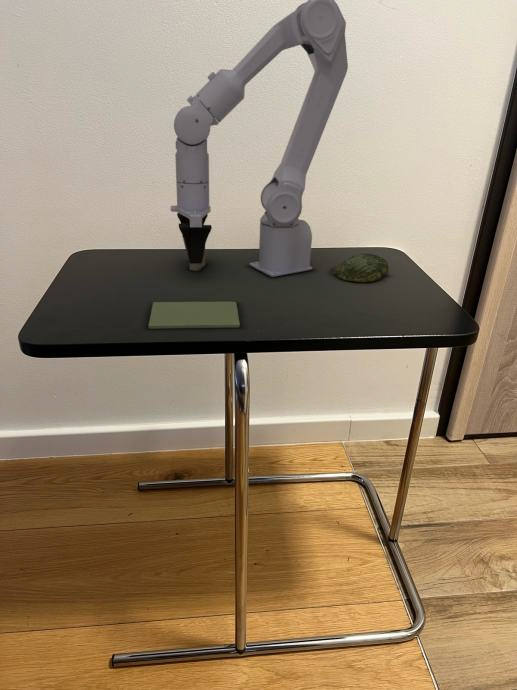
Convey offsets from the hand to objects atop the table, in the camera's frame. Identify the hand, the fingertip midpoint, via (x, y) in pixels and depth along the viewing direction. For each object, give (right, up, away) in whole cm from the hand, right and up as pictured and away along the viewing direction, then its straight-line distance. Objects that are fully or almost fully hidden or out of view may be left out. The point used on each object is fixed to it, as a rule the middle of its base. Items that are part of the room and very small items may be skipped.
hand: (194, 256), depth 100 cm
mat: (+2, -12, -19) cm, 22 cm away
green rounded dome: (+31, -3, +1) cm, 31 cm away
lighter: (0, -2, +1) cm, 3 cm away
